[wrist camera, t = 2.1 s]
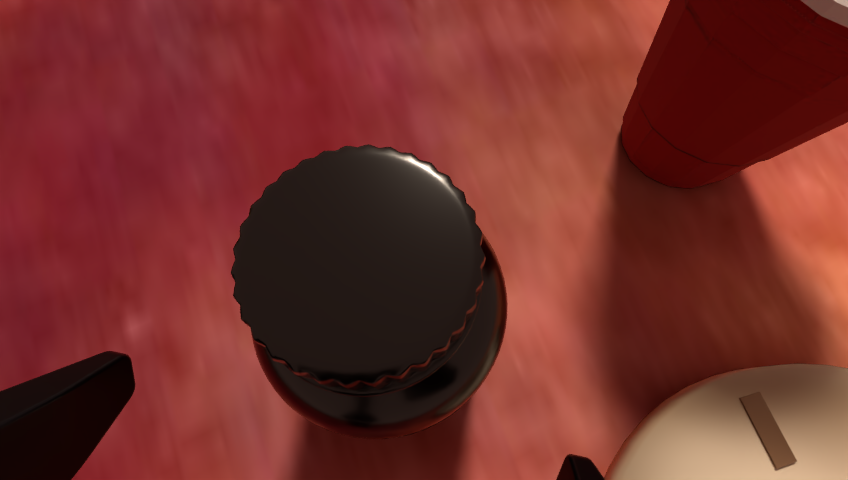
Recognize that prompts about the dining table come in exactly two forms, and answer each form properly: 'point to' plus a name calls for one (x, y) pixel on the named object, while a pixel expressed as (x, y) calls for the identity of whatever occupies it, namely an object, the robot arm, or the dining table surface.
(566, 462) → the robot arm
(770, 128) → the plastic cup
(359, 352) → the supplement bottle
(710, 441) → the disc
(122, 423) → the dining table surface
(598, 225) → the dining table surface
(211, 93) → the dining table surface
